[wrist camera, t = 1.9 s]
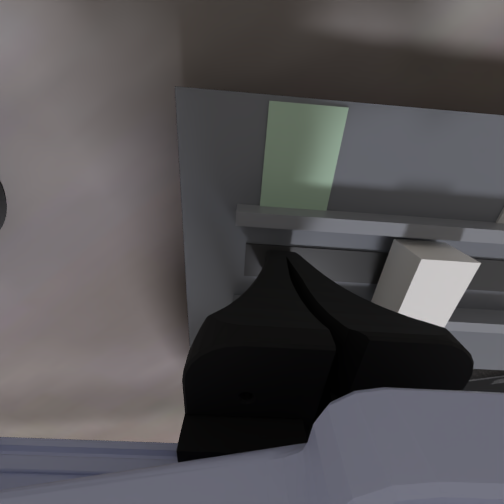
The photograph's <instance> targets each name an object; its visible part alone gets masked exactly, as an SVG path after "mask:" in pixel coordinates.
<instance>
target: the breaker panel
mask: <svg viewBox="0 0 504 504" xmlns="http://www.w3.org/2000/svg"><path fill="white" fill-rule="evenodd" d="M175 99H176V116H177V134H178V151H179V168H180V186H181V203H182V221H183V238H184V256H185V273H186V290H187V308H188V325H189V343H190V348H191V346H192V343H193V341H194V339H195V337H196V335H197V333H198V331H199V329H200V327H201V326H202V324H203V322H204V321H205V319H206V317H207V316H209V315H211V314H213V313H215V312H217V311H219V310H221V309H222V308H224V307H226V306H228V305H229V304H231V303H232V302H233V301H235V300H236V299H237V298H239V297H240V296H241V295H242V294H243V293H244V292H245V291H246V290H247V289H248V288H249V287H250V286H251V284H252V283H253V282H254V281H255V279H256V278H257V276H258V275H259V273H260V272H261V270H262V268H263V266H264V264H265V261H266V252H267V251H269V250H274V251H290V252H296V253H298V254H299V255H300V256H301V257H303V258H304V259H305V260H306V261H307V262H309V263H310V264H311V265H312V266H313V267H315V268H316V269H317V270H318V271H320V272H321V273H322V274H324V275H325V276H327V277H328V278H329V279H331V280H332V281H334V282H335V283H337V284H338V285H340V286H342V287H343V288H345V289H347V290H349V291H350V292H352V293H354V294H356V295H358V296H360V297H362V298H364V299H366V300H368V301H370V302H371V300H372V298H373V295H374V292H375V289H376V287H377V284H378V281H379V278H380V276H381V273H382V270H383V268H384V265H385V262H386V259H387V257H388V254H389V251H390V248H391V246H392V243H393V240H394V239H406V240H420V241H435V242H445V243H447V244H449V245H450V246H452V247H454V248H456V249H457V250H459V251H461V252H463V253H464V254H466V255H468V256H470V257H471V258H473V259H475V260H477V261H478V262H480V263H481V264H480V266H479V268H478V270H477V271H476V273H475V275H474V277H473V278H472V280H471V282H470V284H469V285H468V287H467V289H466V291H465V292H464V294H463V296H462V298H461V299H460V301H459V303H458V305H457V306H456V308H455V310H454V312H453V313H452V315H451V317H450V319H449V320H448V322H447V324H446V326H445V327H444V328H446V329H447V330H448V331H449V332H450V333H451V334H452V335H453V336H454V337H455V338H456V339H457V340H458V341H459V342H460V343H461V344H462V345H463V346H464V347H465V348H466V349H467V350H468V351H469V352H470V353H471V356H472V358H473V361H474V366H473V369H487V370H504V115H494V114H483V113H471V112H460V111H449V110H437V109H426V108H415V107H404V106H392V105H381V104H370V103H358V102H347V101H336V100H325V99H313V98H302V97H291V96H279V95H268V94H257V93H246V92H234V91H223V90H212V89H200V88H189V87H178V86H175Z"/></svg>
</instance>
